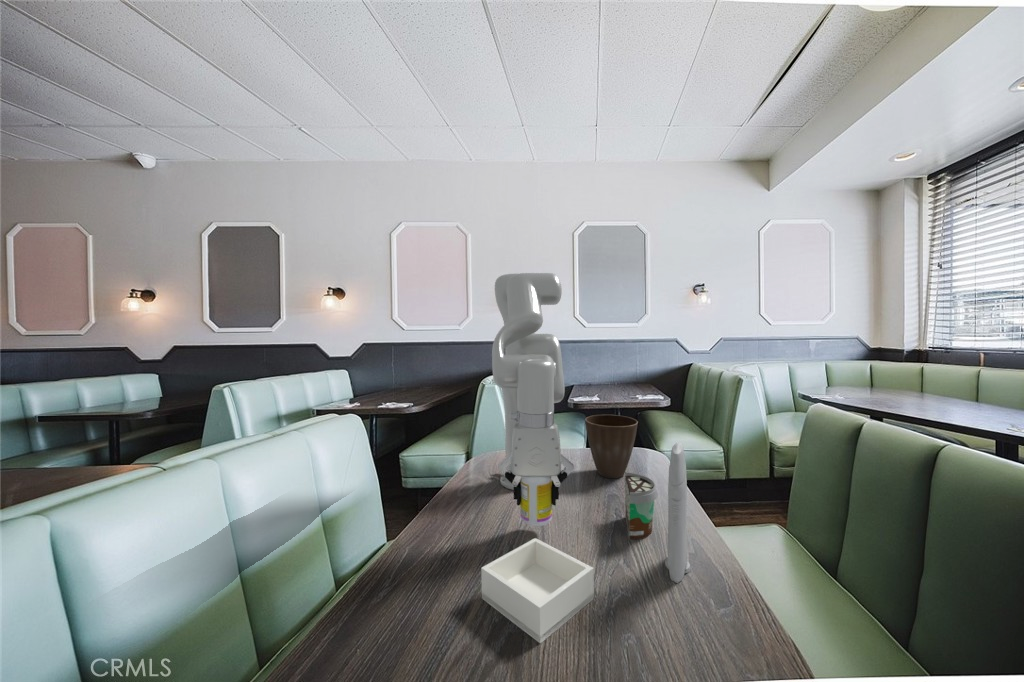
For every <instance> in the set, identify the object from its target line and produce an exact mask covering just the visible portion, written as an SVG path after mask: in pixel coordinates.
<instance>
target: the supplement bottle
mask: <svg viewBox="0 0 1024 682" xmlns="http://www.w3.org/2000/svg"><path fill="white" fill-rule="evenodd" d="M519 506H520V509H519V511H520V519H521V521H522V522H523V523H524V524H526V525H527V526H532V527H533V526H534V527H542V526H546V525H548V524H549V523H550V522H551V521H552V519H553V505H552V478H551V476H522V477H521V479H520V505H519Z"/></svg>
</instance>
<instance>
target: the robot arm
mask: <svg viewBox="0 0 1024 682" xmlns="http://www.w3.org/2000/svg"><path fill="white" fill-rule="evenodd" d="M562 291H563V289H562V283H561V280H560V278H559V277H558V275H557V274H555V273H552V272H522V273H507V274H503V275H500V276H498V277H497V278H496V280H495V282H494V295H495V302H496V304H497V305H496V306H497V308H498V311H499V312H500V315H501V317H502V321H503V326H502V327H501V328H500V330H499V331H498V333H497V334H496V336H495V338H494V340H493V343H492V349H491V359H492V360H491V363H492V367H491V368H492V376H493V377H492V378H493V381H494V382H493V383H495V385H496V386H497V387H499V388H500V389H501V391H502V392H501V393H502V399H503V404H504V405H503V406H504V407H503V408H504V425H505V426H504V428H505V429H504V433H505V434H504V436H505V437H504V438H505V439H504V440H505V458H503V460H501V461H500V463H499V464H498V465H497V470H499V472H500V473H501V474H502V475H501V476H500V485H501V486H502V487H504V488H506V489H509V490H512V491H513V500H516V505H517V506H520V479H521V477H522V476H551V478H552V506H557V505H556V504H557V502H556V501H557V500H560V498H559V497H560V495H559V492H560V490H559V489H560V486H561V484H562V483H563V482H564V481H565V480H566V479H567V478H568V476H569V475H570V474H571V473H572V472H573V471H574V470H575V466H574V464H573V463H572V462H571V461H570V460H569V459H568V458H567V457H565V456H564V455H563V454H562V452H561V451H562V450H561V440H560V438H561V437H560V431H559V427H558V424H556V423H555V404H557V403H561V401H562V400H563V399H564V397H565V391H566V390H565V389H566V388H565V385H566V384H565V377H564V366H563V365H564V364H563V359H562V358H563V357H562V350H561V349H562V347H561V344H560V340H559V338H558V337H557V336H556V335H555V334H552V333H537V332H538V330H540V329H541V327H542V325H543V322H544V318H543V311H542V306H554V305H555V306H556V305H558V304H559V303H560V301H561V299H562V294H563V292H562ZM504 351H505V352H504ZM562 465H563V466H564V468H563V469H562Z"/></svg>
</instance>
